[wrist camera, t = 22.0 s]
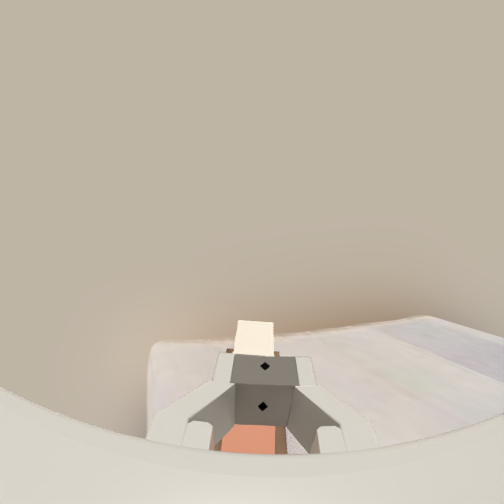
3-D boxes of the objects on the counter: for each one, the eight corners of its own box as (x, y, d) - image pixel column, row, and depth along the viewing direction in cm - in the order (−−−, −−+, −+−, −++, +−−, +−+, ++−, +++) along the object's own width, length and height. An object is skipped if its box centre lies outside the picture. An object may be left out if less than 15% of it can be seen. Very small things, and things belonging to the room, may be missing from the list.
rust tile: (221, 461, 23) (229, 378, 31) (272, 464, 23) (274, 381, 31) (220, 458, 22) (229, 372, 30) (274, 461, 22) (275, 374, 30)
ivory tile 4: (231, 387, 35) (238, 326, 43) (270, 390, 35) (272, 329, 43) (231, 382, 34) (238, 320, 42) (271, 384, 34) (273, 322, 42)
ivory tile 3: (228, 407, 31) (235, 340, 39) (271, 410, 31) (272, 342, 39) (228, 402, 30) (235, 333, 38) (272, 405, 30) (273, 335, 38)
